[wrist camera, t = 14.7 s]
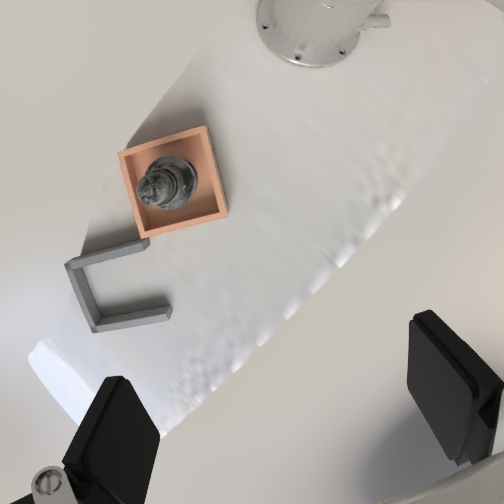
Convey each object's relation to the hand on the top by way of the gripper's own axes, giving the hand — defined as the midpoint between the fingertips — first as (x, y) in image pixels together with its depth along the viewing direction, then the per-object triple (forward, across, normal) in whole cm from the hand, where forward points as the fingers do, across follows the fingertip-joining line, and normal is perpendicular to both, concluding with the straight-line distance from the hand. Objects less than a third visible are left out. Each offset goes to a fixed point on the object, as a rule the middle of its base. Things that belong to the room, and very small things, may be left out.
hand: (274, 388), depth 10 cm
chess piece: (+30, +8, -6) cm, 31 cm away
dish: (+30, +8, -6) cm, 32 cm away
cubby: (+30, +20, +5) cm, 36 cm away
